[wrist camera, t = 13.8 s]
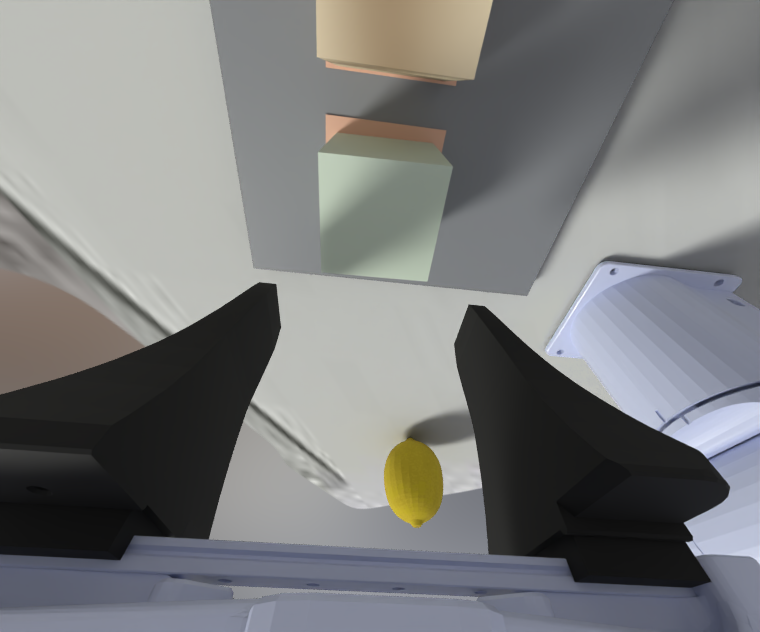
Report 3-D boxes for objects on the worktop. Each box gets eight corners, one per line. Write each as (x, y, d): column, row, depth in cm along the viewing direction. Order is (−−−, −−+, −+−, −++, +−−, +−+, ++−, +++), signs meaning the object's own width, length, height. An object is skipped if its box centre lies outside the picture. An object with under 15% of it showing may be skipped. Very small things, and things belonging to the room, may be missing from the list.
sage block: (432, 143, 14) (452, 166, 10) (416, 234, 16) (427, 281, 12) (336, 132, 14) (317, 152, 10) (336, 226, 16) (321, 272, 12)
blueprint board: (790, -291, 8) (847, -344, 7) (520, 285, 20) (527, 296, 19) (157, -442, 7) (120, -528, 6) (260, 258, 19) (253, 269, 18)
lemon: (408, 457, 34) (414, 542, 28) (373, 438, 32) (370, 526, 25) (447, 438, 32) (463, 527, 25) (412, 416, 29) (420, 508, 23)
